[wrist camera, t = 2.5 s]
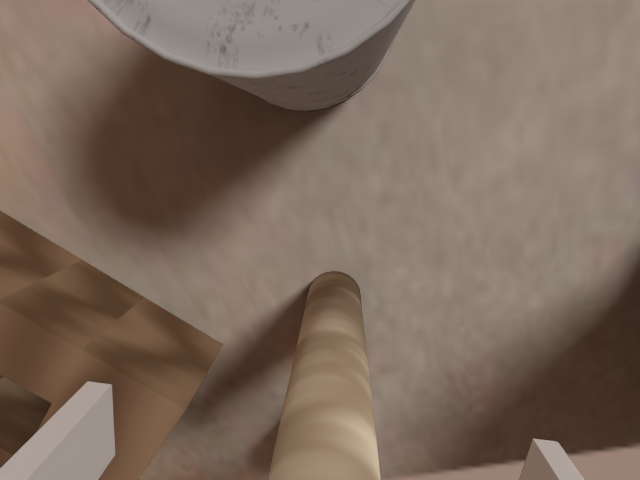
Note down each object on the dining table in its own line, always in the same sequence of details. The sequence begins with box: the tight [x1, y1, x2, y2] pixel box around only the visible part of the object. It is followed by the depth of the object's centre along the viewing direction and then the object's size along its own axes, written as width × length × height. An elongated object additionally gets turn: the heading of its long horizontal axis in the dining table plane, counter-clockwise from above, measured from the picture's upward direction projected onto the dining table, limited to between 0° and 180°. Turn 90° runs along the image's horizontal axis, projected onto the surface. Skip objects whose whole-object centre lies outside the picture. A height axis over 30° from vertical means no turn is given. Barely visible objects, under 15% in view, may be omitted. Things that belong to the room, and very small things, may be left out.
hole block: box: [0, 211, 222, 480], centre depth 22 cm, size 16×12×6 cm
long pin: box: [268, 271, 381, 480], centre depth 16 cm, size 3×3×14 cm
